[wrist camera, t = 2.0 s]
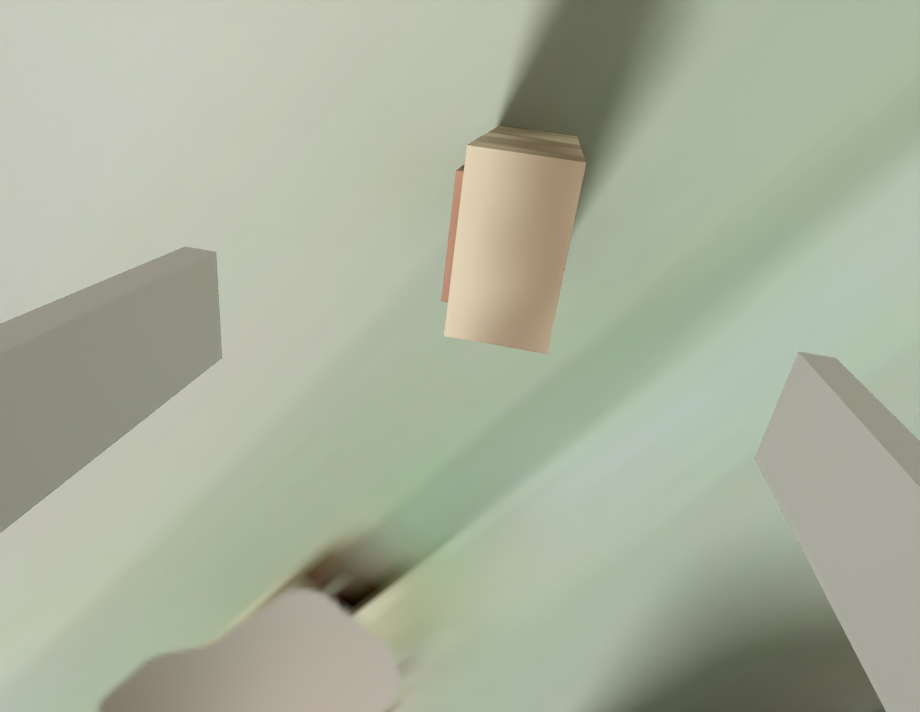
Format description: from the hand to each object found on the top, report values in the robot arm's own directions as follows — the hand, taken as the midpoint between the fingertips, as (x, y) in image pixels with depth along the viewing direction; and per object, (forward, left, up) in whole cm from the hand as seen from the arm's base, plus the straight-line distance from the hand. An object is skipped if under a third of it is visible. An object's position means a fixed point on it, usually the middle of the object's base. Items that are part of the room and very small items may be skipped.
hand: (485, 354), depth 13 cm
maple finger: (0, 0, -20) cm, 20 cm away
